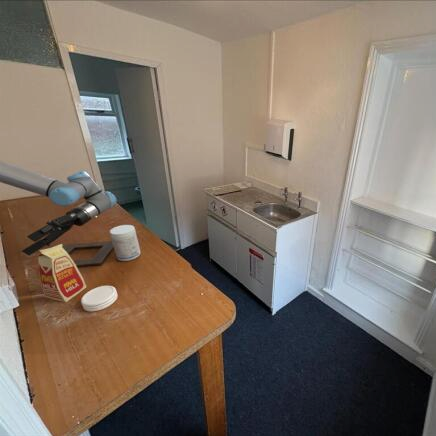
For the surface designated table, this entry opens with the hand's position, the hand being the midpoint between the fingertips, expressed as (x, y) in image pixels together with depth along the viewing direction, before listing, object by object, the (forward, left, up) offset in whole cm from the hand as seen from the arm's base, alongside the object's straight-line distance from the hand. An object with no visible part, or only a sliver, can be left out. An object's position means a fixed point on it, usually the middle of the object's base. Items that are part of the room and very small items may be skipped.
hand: (28, 246), depth 85 cm
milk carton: (+11, -8, -17) cm, 22 cm away
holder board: (+5, +18, -17) cm, 25 cm away
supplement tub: (+25, +14, -17) cm, 33 cm away
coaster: (+25, -16, -17) cm, 34 cm away
